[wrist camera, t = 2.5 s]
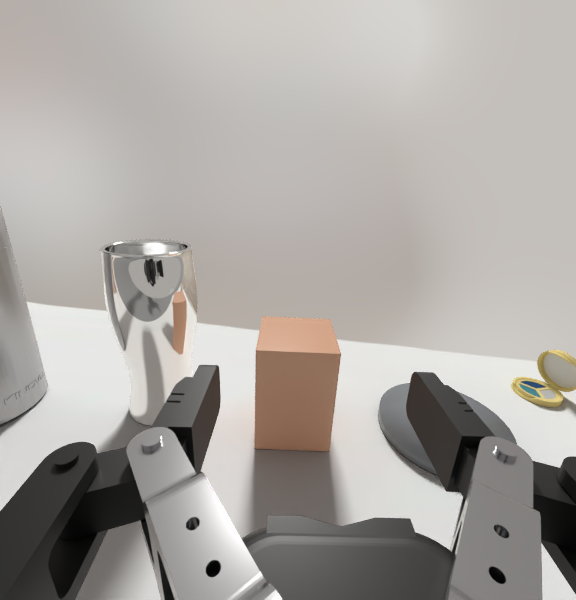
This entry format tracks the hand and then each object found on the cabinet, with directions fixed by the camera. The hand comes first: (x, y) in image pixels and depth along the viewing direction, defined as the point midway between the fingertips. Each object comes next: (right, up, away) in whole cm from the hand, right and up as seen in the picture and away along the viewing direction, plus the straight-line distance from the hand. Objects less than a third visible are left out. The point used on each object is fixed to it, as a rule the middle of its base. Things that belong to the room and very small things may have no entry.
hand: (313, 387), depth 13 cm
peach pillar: (-1, -7, +15) cm, 17 cm away
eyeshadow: (+26, -7, +21) cm, 34 cm away
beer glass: (-13, -6, +17) cm, 22 cm away
